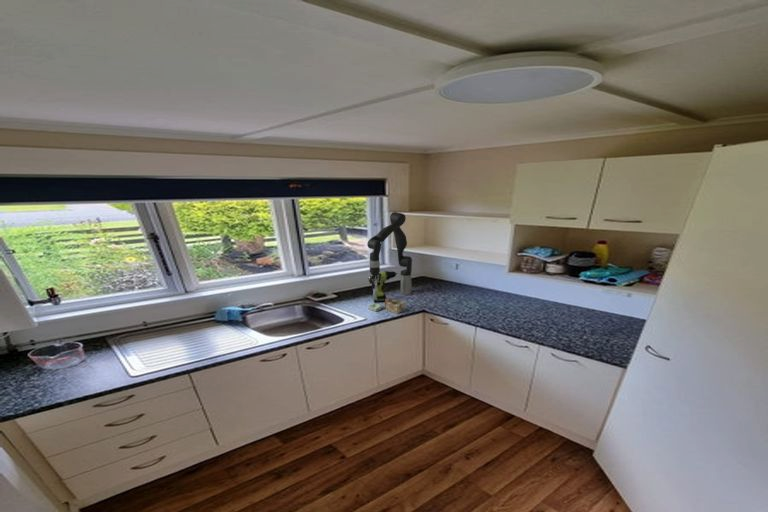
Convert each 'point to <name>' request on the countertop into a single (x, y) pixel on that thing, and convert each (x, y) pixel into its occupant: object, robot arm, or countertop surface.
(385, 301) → the drift key
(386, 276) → the cordless drill
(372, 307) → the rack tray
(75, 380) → the countertop surface
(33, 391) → the countertop surface
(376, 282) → the steel bit
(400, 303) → the socket block
